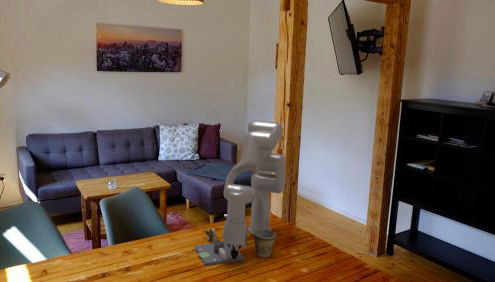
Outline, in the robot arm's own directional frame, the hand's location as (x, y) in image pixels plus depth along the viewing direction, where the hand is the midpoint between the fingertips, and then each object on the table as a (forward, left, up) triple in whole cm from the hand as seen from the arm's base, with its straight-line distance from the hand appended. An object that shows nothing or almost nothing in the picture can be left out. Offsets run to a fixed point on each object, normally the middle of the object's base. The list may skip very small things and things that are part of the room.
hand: (234, 257), depth 180 cm
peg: (-6, -4, -1) cm, 8 cm away
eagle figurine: (-24, -3, -3) cm, 25 cm away
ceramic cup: (-5, +17, -3) cm, 18 cm away
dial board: (-10, -4, -2) cm, 11 cm away
